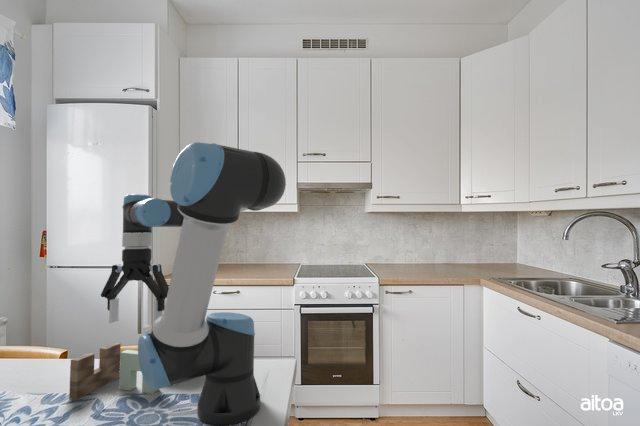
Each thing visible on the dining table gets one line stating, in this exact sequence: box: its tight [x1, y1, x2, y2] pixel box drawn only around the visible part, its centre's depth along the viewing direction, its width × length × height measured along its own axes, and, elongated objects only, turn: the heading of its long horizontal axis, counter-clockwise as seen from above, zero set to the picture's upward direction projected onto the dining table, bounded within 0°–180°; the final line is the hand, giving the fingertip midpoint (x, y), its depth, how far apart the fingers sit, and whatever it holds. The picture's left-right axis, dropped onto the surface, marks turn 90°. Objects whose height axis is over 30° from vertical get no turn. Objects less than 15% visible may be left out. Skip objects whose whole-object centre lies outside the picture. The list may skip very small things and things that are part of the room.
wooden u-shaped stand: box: [68, 342, 122, 400], centre depth 98 cm, size 14×2×10 cm, turn 166°
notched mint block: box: [118, 349, 160, 394], centre depth 96 cm, size 11×2×10 cm, turn 76°
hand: (135, 322), depth 99 cm, fingers open, 13 cm apart
